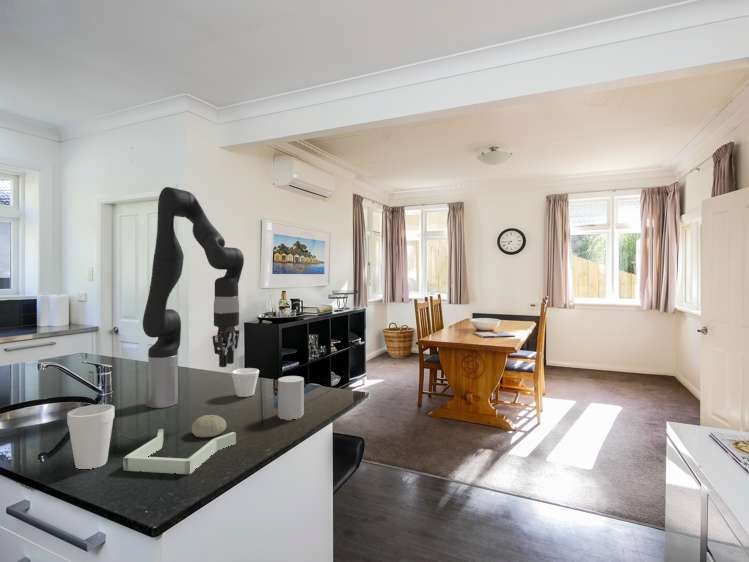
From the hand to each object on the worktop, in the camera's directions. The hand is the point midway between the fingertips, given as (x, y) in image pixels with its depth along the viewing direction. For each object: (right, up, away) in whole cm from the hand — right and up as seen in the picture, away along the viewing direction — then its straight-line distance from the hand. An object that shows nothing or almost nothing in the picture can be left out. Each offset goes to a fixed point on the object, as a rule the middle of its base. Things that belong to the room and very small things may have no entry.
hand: (226, 364), depth 131 cm
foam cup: (-21, -18, -31) cm, 41 cm away
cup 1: (-2, -17, +27) cm, 32 cm away
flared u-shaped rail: (-3, -18, -26) cm, 31 cm away
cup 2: (+19, -18, +4) cm, 27 cm away
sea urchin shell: (-1, -18, -11) cm, 21 cm away
